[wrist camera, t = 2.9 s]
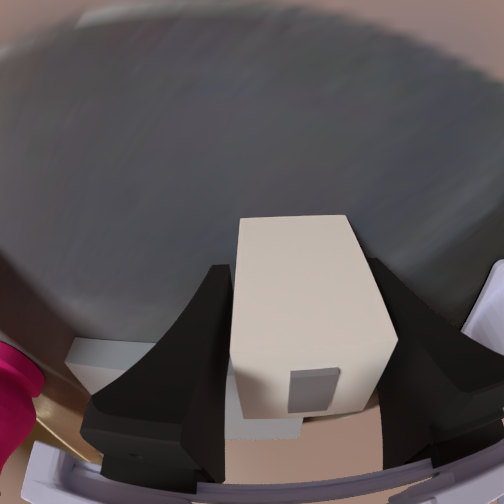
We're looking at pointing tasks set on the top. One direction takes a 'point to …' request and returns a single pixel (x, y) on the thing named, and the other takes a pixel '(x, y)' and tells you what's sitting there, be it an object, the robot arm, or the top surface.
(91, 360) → the plate
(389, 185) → the top surface
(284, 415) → the charger
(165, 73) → the top surface
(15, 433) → the pepper mill
